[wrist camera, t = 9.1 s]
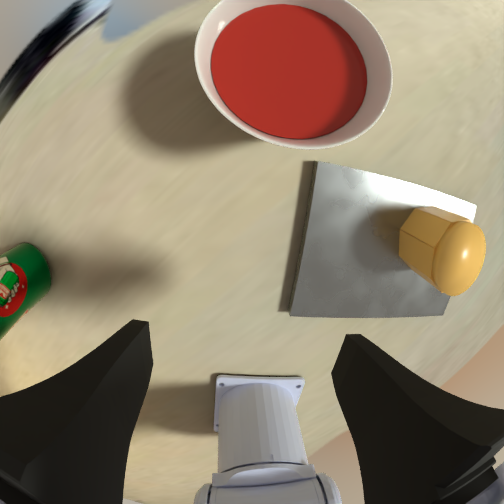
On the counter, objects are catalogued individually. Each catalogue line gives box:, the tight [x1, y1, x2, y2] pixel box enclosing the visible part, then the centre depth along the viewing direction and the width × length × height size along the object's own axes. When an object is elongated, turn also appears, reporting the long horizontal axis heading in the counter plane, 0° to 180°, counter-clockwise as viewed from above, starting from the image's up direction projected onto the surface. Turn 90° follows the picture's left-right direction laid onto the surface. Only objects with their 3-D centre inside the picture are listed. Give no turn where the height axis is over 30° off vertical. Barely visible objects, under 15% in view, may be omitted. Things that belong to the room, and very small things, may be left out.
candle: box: [194, 0, 393, 150], centre depth 12 cm, size 9×9×6 cm
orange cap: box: [399, 206, 486, 296], centre depth 16 cm, size 5×5×5 cm
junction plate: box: [288, 161, 476, 318], centre depth 17 cm, size 11×16×4 cm
